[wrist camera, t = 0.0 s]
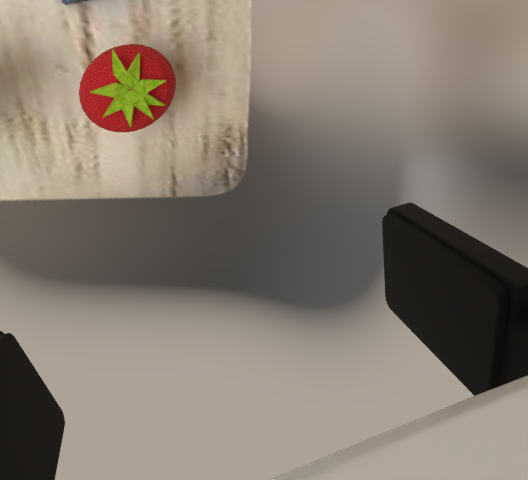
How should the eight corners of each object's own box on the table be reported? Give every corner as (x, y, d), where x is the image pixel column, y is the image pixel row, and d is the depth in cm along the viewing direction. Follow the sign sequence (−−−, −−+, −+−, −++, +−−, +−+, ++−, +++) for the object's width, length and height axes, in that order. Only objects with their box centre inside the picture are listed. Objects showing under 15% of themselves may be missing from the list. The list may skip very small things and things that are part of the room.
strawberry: (69, 75, 33) (46, 84, 25) (145, 28, 34) (149, 21, 25) (114, 135, 36) (108, 163, 28) (184, 92, 37) (199, 106, 28)
